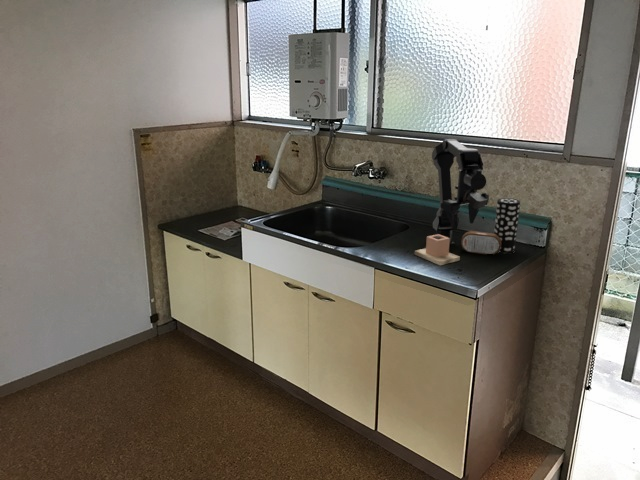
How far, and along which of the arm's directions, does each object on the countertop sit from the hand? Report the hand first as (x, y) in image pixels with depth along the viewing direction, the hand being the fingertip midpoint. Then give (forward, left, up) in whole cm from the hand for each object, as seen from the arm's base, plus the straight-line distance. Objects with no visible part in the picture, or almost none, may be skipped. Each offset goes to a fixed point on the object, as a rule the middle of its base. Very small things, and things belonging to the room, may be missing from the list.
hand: (462, 225), depth 194 cm
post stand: (+7, -5, -13) cm, 16 cm away
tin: (-11, 0, -13) cm, 17 cm away
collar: (+7, -5, -12) cm, 14 cm away
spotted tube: (-22, +2, -13) cm, 25 cm away
